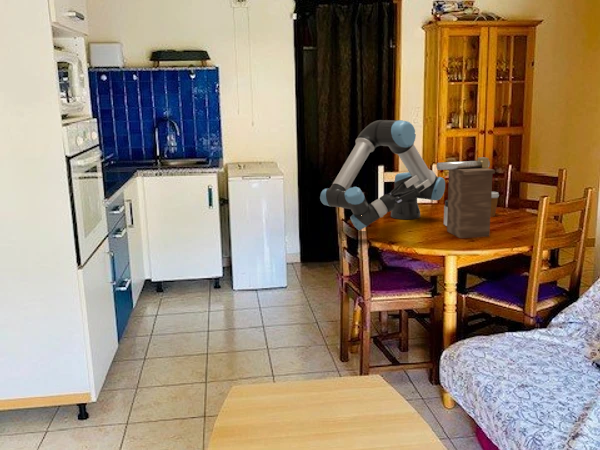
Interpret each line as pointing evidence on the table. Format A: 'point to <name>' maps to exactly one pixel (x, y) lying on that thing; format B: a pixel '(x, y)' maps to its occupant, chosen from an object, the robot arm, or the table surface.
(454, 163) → the pipe
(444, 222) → the jar
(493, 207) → the disposable coffee cup
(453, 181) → the stand
